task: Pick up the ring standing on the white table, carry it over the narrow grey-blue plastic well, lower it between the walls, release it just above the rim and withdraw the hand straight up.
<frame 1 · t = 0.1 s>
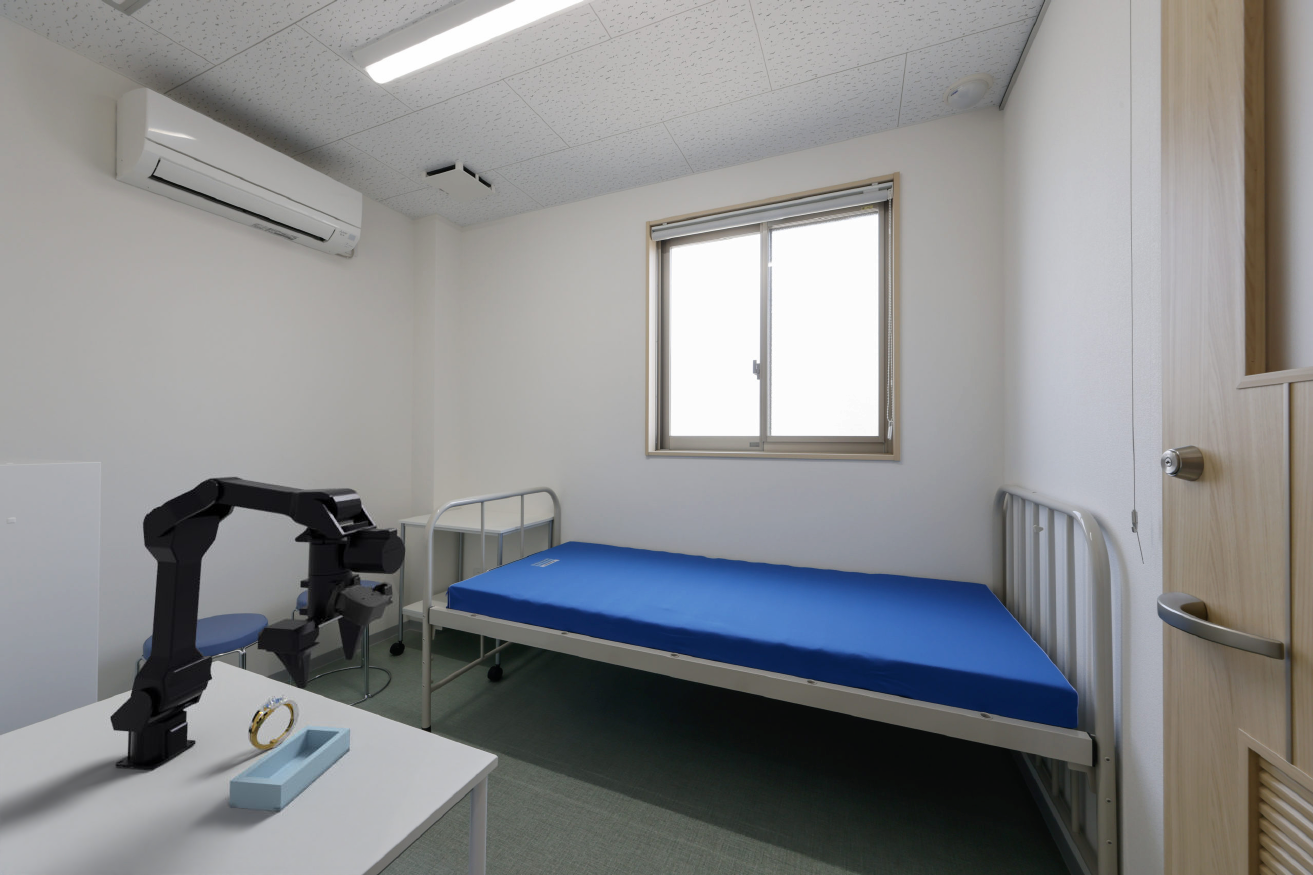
hand: (327, 672, 73), 15 cm above the table, fingers open, 9 cm apart
ring: (273, 748, 78), on the table
well: (294, 776, 71), on the table
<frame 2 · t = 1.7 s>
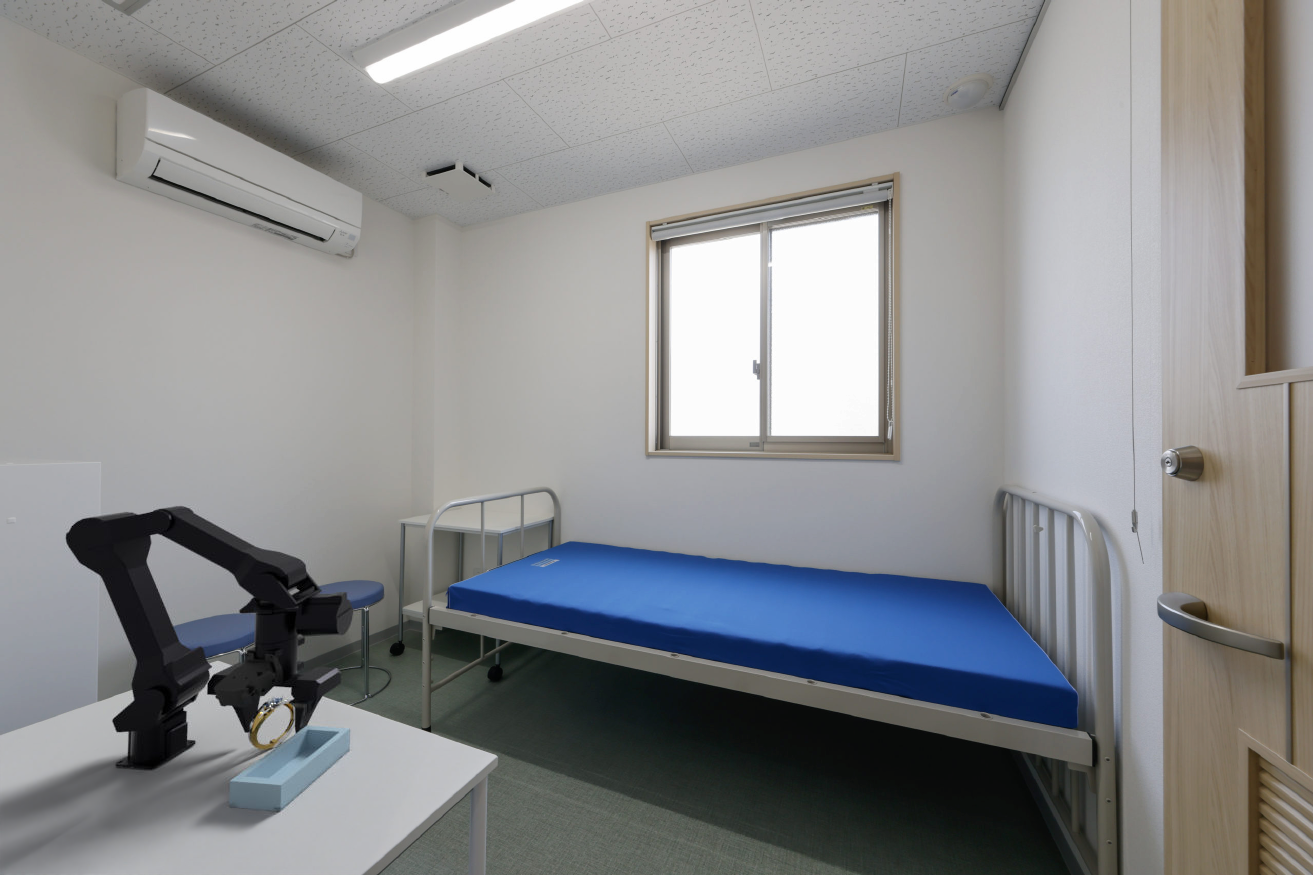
hand: (274, 733, 78), 2 cm above the table, fingers open, 8 cm apart
nothing on the table moved.
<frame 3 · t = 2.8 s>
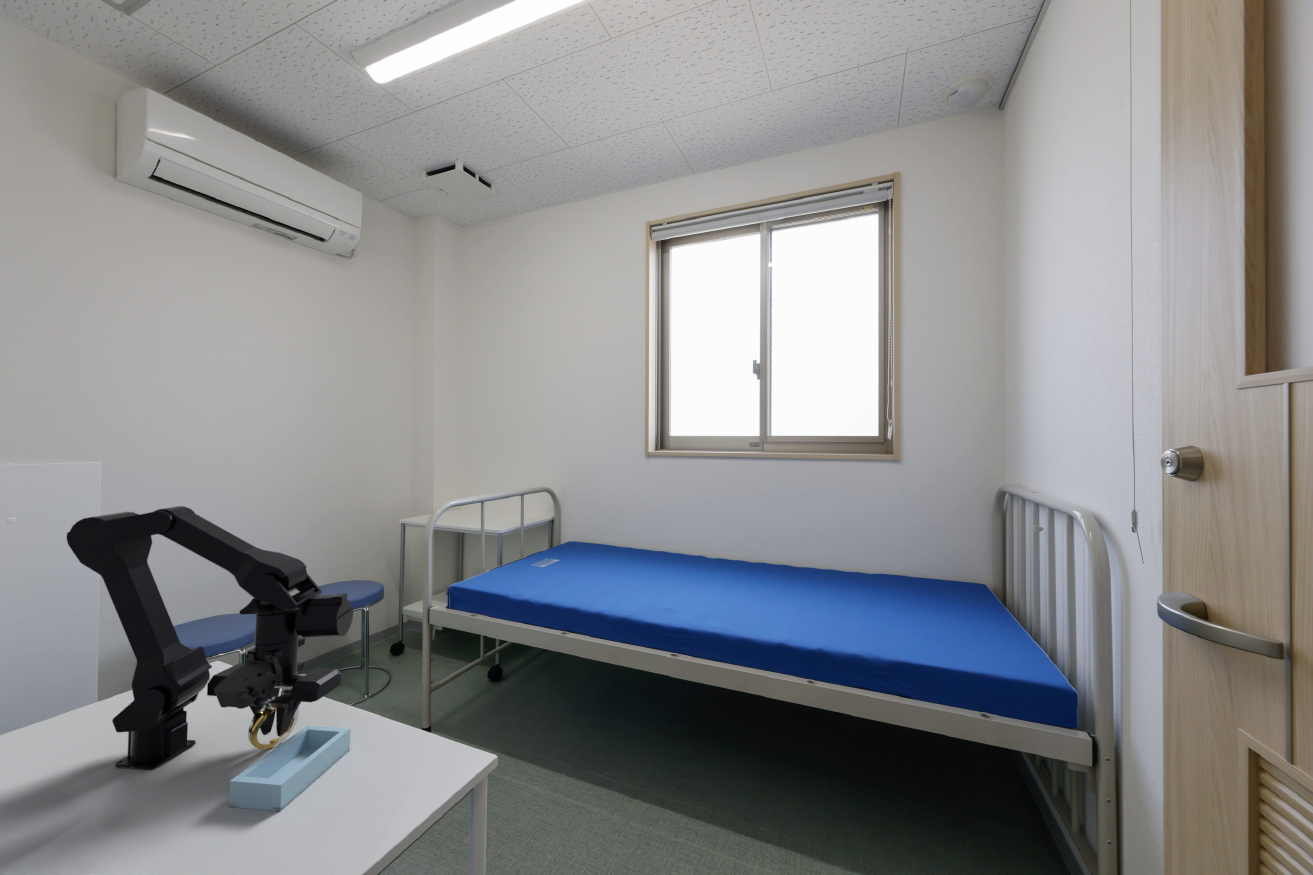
hand: (274, 734, 78), 2 cm above the table, fingers closed on ring, 2 cm apart
ring: (273, 747, 78), on the table, touching gripper
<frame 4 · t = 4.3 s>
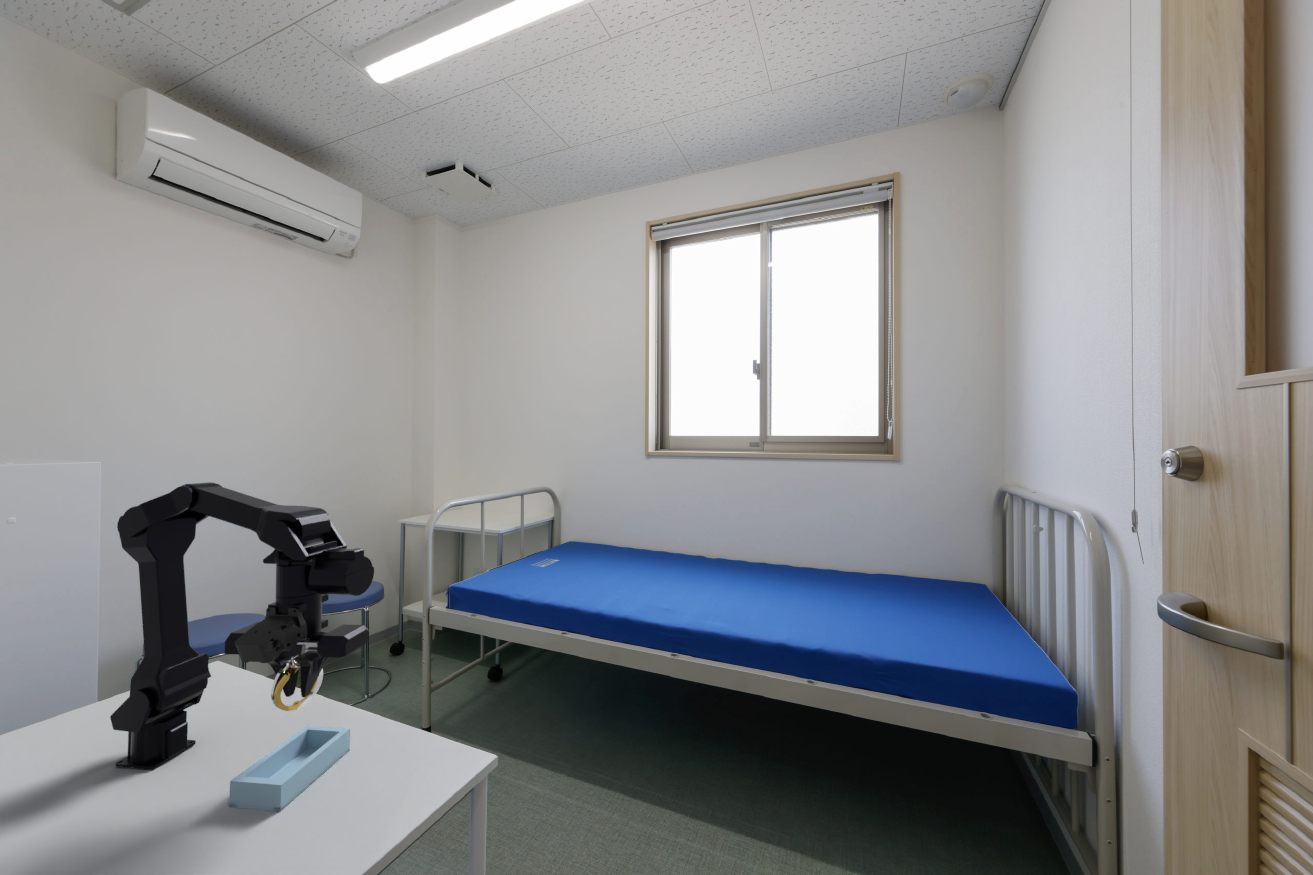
hand: (297, 695, 72), 11 cm above the table, fingers closed on ring, 2 cm apart
ring: (297, 710, 72), point 9 cm above the table, touching gripper
when the fingers open (5 cm above the table, at t = 6.0 s): ring drops 2 cm, resting on well.
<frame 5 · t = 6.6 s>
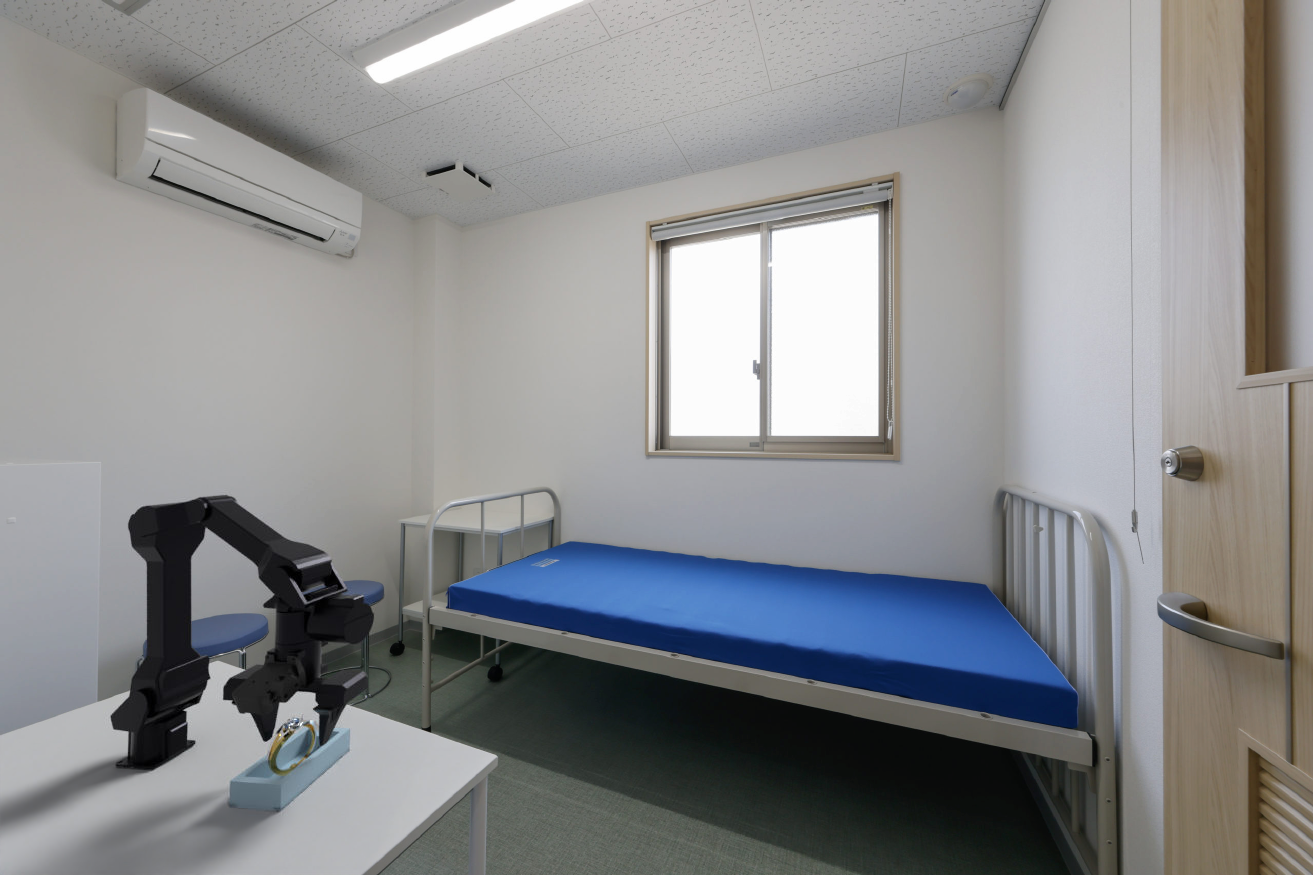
hand: (295, 742, 71), 5 cm above the table, fingers open, 9 cm apart
ring: (294, 773, 71), resting on well
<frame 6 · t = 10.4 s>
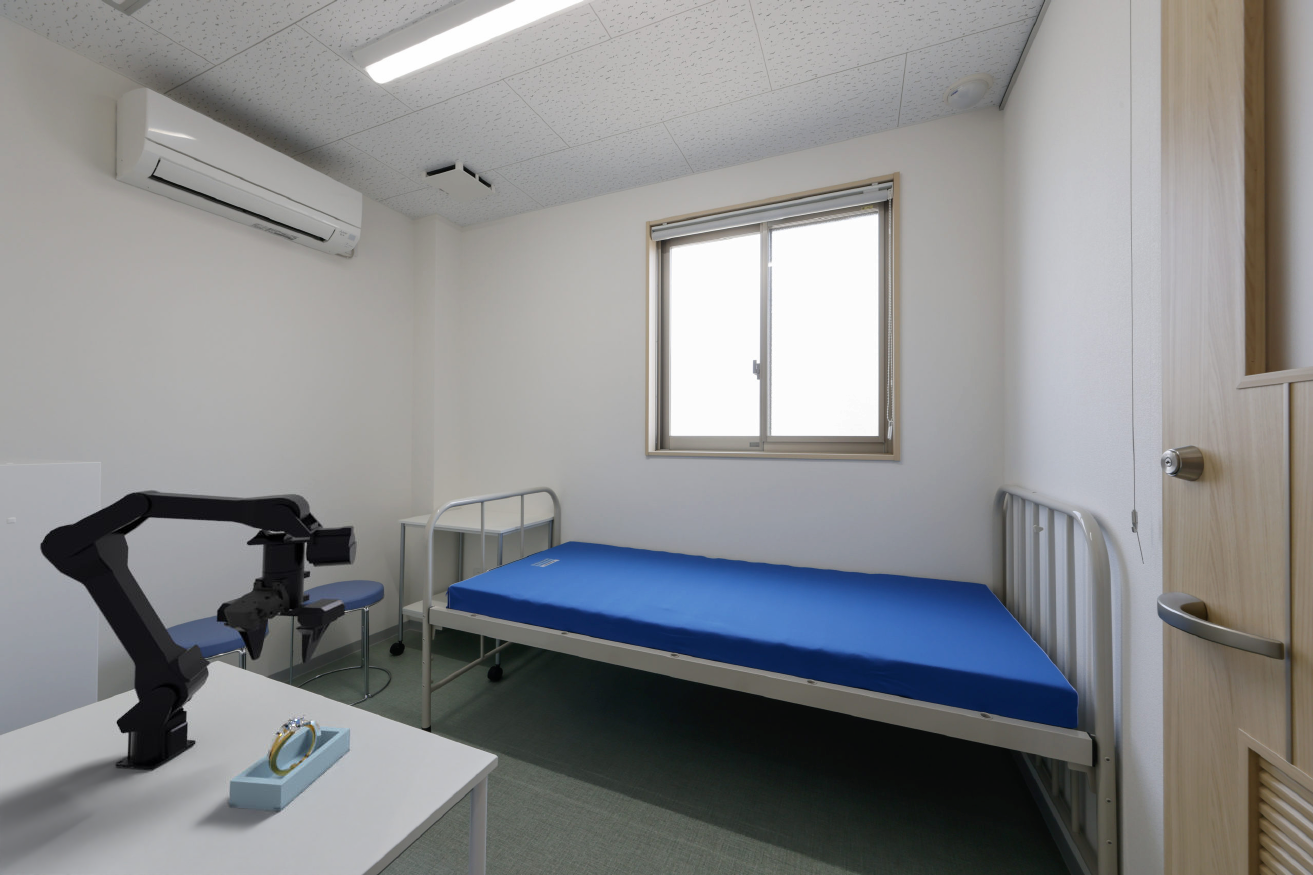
hand: (280, 660, 81), 13 cm above the table, fingers open, 9 cm apart
nothing on the table moved.
at the end: ring inside the target area on the well (0.1 cm from its centre), point 0.3 cm above the well's base; the gripper is holding nothing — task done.
